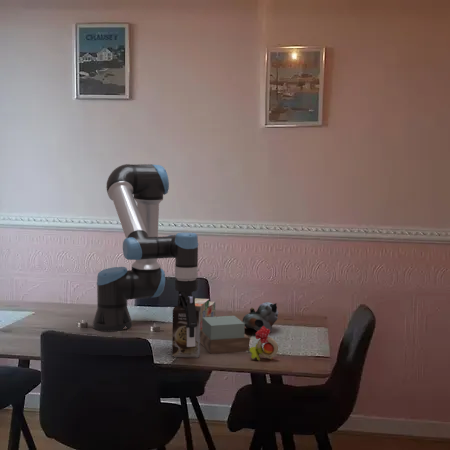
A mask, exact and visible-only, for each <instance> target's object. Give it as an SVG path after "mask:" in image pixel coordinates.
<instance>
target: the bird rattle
mask: <svg viewBox="0 0 450 450" xmlns="http://www.w3.org/2000/svg"><path fill="white" fill-rule="evenodd" d="M270 333H271V332H270V330H269V329H266V328H265V327H264V326H263V327H262V328H261V329H260V330H259V331H256V332H255V340H258V339H259V340H258V341H257V343H256V344H255V346H252V347H249V352H250V354H251V356H250V358H251V359H253V360H254V359H256V360H257V361H260V360H261V358H260V356H261V357H263V358H266V359H269V360H271V361H272V360H273V359H274V357H276V355H277V354H278V352H279V345H278V343H277V341H276V340H275V339H273V338H272V337H269V335H270Z"/></svg>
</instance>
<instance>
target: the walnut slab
mask: <svg viewBox="0 0 450 450" xmlns="http://www.w3.org/2000/svg"><path fill="white" fill-rule="evenodd" d="M200 345H202V346H203V347H204V348H205V350H206V351H207V352H209V354H212V355H213V354H221V353H223V354H225V353H235V352H245V351H246V352H247V351H249V352H250V337H249V336H248V335H247V334H246V333H244V338H233V339H219V340H211V339H210V338H209V337H208V336H207V335H206V334H205V333H204V332H203V331H202V330H200Z"/></svg>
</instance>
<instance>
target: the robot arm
mask: <svg viewBox="0 0 450 450" xmlns="http://www.w3.org/2000/svg"><path fill="white" fill-rule="evenodd" d="M105 188H106V192H107V195H108V198H109V199H110V200H111V201H113V205H114V207H115V210H116V213H117V215H118V220H119V221H120V225H121V227H122V230H123V234H124V236H125V238H124V239H123V241H122V253H123V257H124V258H125V260H130V261H131V260H134V262H132V264H131V269H130V270H128V268H127V267H125V266H113V267H108V268H105V269H101V270H100V271H99V272H98V273H97V277H96V288H97V290H96V293H97V295H96V298H97V299H96V302H97V309H96V312H95V315H94V318H93V322H92V328H93V329H94V330H95V331H101V332H117V331H123V328H124V327H125V326H126V327H127V329H130V328H131V327H132V325H133V323H132V317H131V315H130V312H129V309H128V300H139V299H152V298H157V297H160V296H161V295H162V294H163V293H164V290H165V285H166V274H165V271H164V269H163V268H161V264H160V263H159V262H158V259H175V261H174V262H175V265H174V267H175V268H174V277H175V284H174V285H175V286H174V288H175V291H176V292H178V298H177V305H176V306H181V307H183V308H184V309H185V312H186V318H187V324H188V325H186V328H187V347H194V346H195V327H197V318H196V308H195V298H196V297H195V296H193V292H196V291H198V286H199V284H198V283H199V282H198V281H199V280H198V279H197V278H198V272H199V271H200V268H199V267H198V265H199V263H198V261H199V240H198V234H197V233H195V232H187V231H186V232H177V233H176V234H174V235H173V234H169V235H166V236H159V218H160V217H159V215H160V207H159V206H160V203H161V202H162V201H163V200H164V195H167V194H168V193H169V190H170V180H169V177H168V173H167V170H166V169H165V167H164V166H162V165H160V164H151V163H148V164H145V163H144V164H142V163H139V164H130V163H126V164H122V165H119V166H118V167H115V168H114V170H112V171H111V173H110V175H109V176H108V177H107V181H106V187H105ZM127 329H126V330H127Z"/></svg>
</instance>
